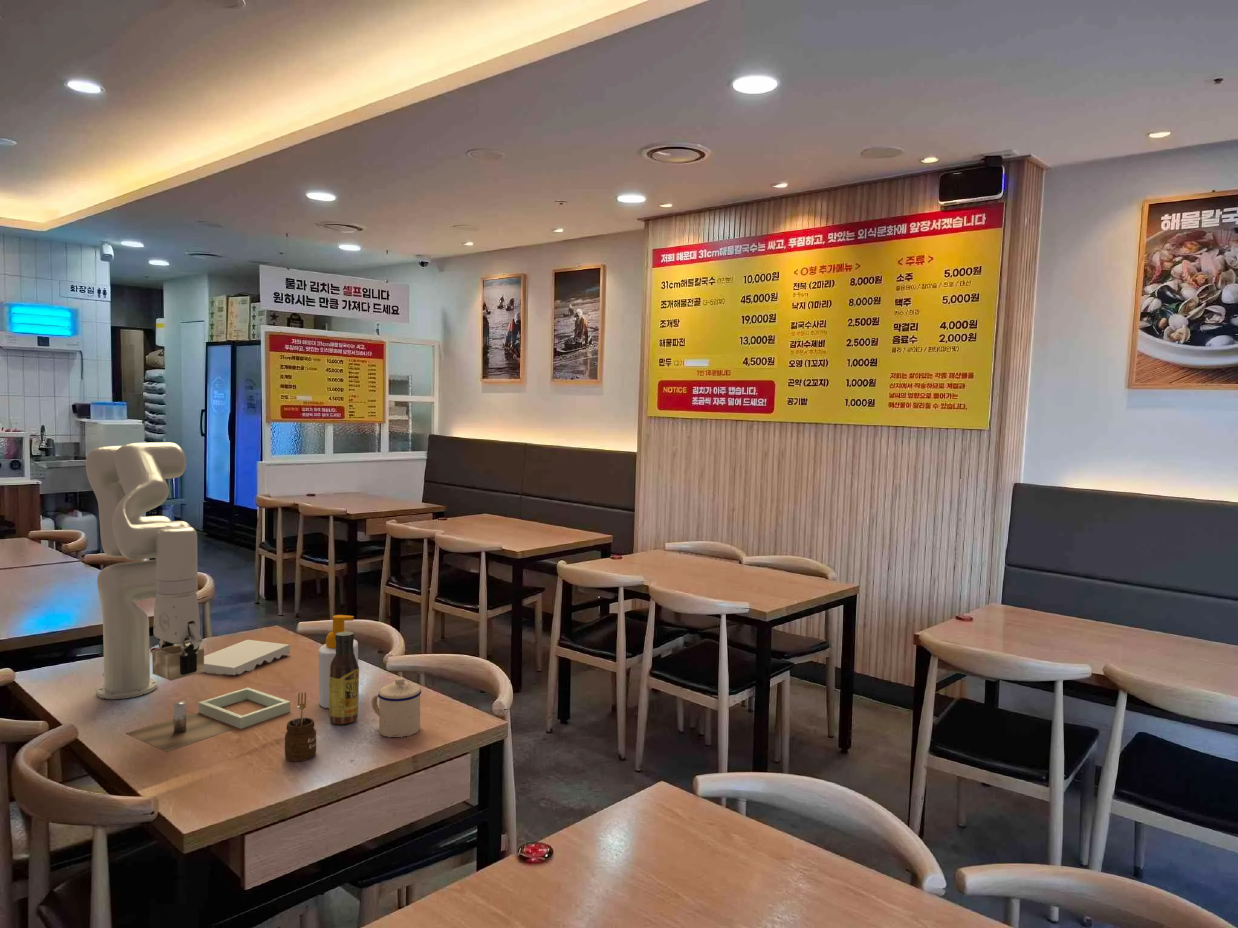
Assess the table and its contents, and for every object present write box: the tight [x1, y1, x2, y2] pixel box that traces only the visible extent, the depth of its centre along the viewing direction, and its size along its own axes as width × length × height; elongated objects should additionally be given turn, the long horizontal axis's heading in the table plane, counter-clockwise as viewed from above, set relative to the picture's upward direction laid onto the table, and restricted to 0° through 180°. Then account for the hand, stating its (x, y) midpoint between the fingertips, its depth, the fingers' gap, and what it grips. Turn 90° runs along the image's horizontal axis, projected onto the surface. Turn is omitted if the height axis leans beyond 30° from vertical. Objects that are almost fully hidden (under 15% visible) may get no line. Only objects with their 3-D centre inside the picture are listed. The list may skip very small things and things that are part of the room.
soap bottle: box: [318, 614, 359, 709], centre depth 193 cm, size 13×8×20 cm, turn 178°
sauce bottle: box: [328, 630, 360, 725], centre depth 180 cm, size 7×6×20 cm
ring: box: [151, 643, 205, 682], centre depth 169 cm, size 7×7×5 cm
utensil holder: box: [284, 692, 317, 762], centre depth 162 cm, size 6×6×12 cm
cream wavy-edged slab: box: [203, 639, 291, 676], centre depth 220 cm, size 15×3×20 cm
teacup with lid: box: [371, 677, 422, 738], centre depth 176 cm, size 12×9×12 cm
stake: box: [172, 700, 187, 733], centre depth 169 cm, size 2×2×6 cm
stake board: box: [125, 712, 234, 753], centre depth 170 cm, size 16×14×2 cm
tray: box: [197, 687, 291, 730], centre depth 181 cm, size 16×12×4 cm
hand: (178, 668), depth 169 cm, fingers closed on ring, 7 cm apart
